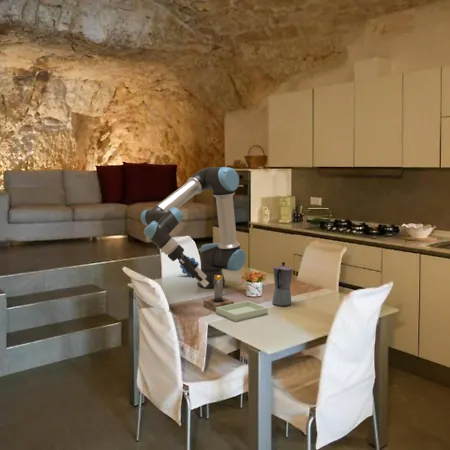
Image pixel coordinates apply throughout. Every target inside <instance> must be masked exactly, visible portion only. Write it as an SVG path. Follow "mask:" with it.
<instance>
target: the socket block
mask: <svg viewBox="0 0 450 450" xmlns="http://www.w3.org/2000/svg"><path fill="white" fill-rule="evenodd" d="M230 304H235V303H234V301H233V300H231V299H228V298H225V297H223V302H219V303H216V302H214V297H212V298H209V299H203V307H204V308H206V309H208V310H212V311H214V312H216V307H220V306H225V305H230Z"/></svg>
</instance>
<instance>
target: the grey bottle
mask: <svg viewBox="0 0 450 450" xmlns="http://www.w3.org/2000/svg"><path fill="white" fill-rule="evenodd" d="M223 276H224V274H223V275H214V288H213V289H214V291H213V293H214V297H213V298H214V302H216V303H219V302H223V298H224V296H223V288H224V287H223Z"/></svg>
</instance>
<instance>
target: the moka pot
mask: <svg viewBox="0 0 450 450" xmlns="http://www.w3.org/2000/svg"><path fill="white" fill-rule="evenodd" d="M293 273H294V269H293V267H291V266H288V265H287V266H286V262H285V261H283V262H281V265H278V266H273V278H274V292H273V297H272V302H271V303H272V304H273V305H276V306H284V307H285V306H291V305H292V297H291V296H292V295H291V294H292V293H291V285H292V279H293Z"/></svg>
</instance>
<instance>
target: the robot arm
mask: <svg viewBox="0 0 450 450" xmlns="http://www.w3.org/2000/svg"><path fill="white" fill-rule="evenodd" d="M239 185H240V178H239V174H238V172H237V171H236V170H235V169H234V168H232V167H227V166H217V167H216V166H215V167H214V166H212V167H211V166H210V167H209V166H208V167H204V168H202V169H201V170H199V171H196V173H194V174H193V175H191V176H190V177H188V178H187V180H186V182H185V183H184V184H183V185H182V186H180V187H179V188H178V189H176V190H175V191H173V192H172V193H171V194H169V195H168V196H166V198H165V199H163V200H162V201H160V202H159V203H158V204H156V205H155V206H153V208H151V209H144V210H143V211H142V212H141V214H140V221H141V223H142V225H145V226H146V227H145V228H144V230H143V234H144V235H145V236H146V237H147V239H148V240H150V241H151V242H152V243H153V244H154V245H155V246H156V247H157V248H158V249H159V250H160V253H163V254H165V255H167V257H168V258H169V259H170V260H171V261H172V262H175V261H176V260H178V263H179V264H180V265H182V266H183V267H184V268H185V269H186V270H187V271H188V272H189V273H190V274H191V278H192V279H195V280H197V286H198V288H201V289H208V290H209V289H210V290H211V289H214V275H223V288H224V287H226V279H225V276H224V273H223V270H226V271H229V272H238V271H240V270H241V269H242V268H243V267H244V265H245V263H246V259H247V255H246V252H245V251H244V250H243V249H241V244H240V242H239V241H238V240H237V239H238V237H237V230H236V229H237V228H236V217H235V209H234V208H235V207H234V199H233V198H234V195H235V194H236V190H237V189H238V187H239ZM208 190H209V191H210V190H211V192H212V196H213V197H214V198H215V201H216V212H217V220H218V221H217V222H218V231H219V239H220V240H219V242H215V243H205V244H202V245H201V247H200V254H199V255H200V267H199V265H197V264H196V265H195V264H194V263H193V262H192V261H191V260H190V259H191V258H190V259H189V258H187V257H188V256H187V255H186V254H184V252H185V249H184V247H183V246H181V245H180V244H178V243H179V242H178V241H176V239H174V237H172V236H171V235H170V234H171V232H172V231H173V230H174V229H176V227H177V226H178V225H179V224H180V223H181V221H182V220H183V217H184V216H183V213H182V211H181V210H180V207H182V206H183V205H184V204H185V203H187V202H188V201H189V200H190V199H191V198H193V197H194V196H195V195H199V194H201V193H203V192H204V191H208Z"/></svg>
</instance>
